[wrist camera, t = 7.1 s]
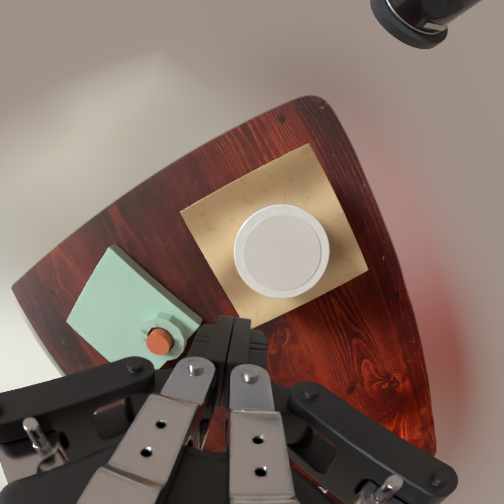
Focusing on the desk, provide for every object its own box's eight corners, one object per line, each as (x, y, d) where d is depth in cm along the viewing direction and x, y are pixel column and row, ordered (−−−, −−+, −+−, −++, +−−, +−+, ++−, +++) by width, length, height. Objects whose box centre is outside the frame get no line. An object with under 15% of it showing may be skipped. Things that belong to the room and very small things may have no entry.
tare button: (158, 323, 31) (153, 329, 30) (177, 338, 31) (173, 345, 30) (146, 338, 32) (141, 344, 30) (164, 352, 32) (160, 359, 30)
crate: (203, 204, 31) (179, 211, 21) (293, 156, 30) (309, 142, 20) (251, 289, 33) (248, 330, 23) (337, 245, 32) (368, 270, 22)
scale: (116, 243, 32) (102, 249, 29) (205, 320, 34) (200, 334, 31) (72, 316, 35) (59, 326, 31) (148, 381, 37) (140, 395, 33)
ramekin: (240, 198, 21) (236, 200, 17) (321, 205, 21) (335, 209, 17) (235, 276, 22) (230, 295, 18) (312, 282, 22) (322, 302, 18)
